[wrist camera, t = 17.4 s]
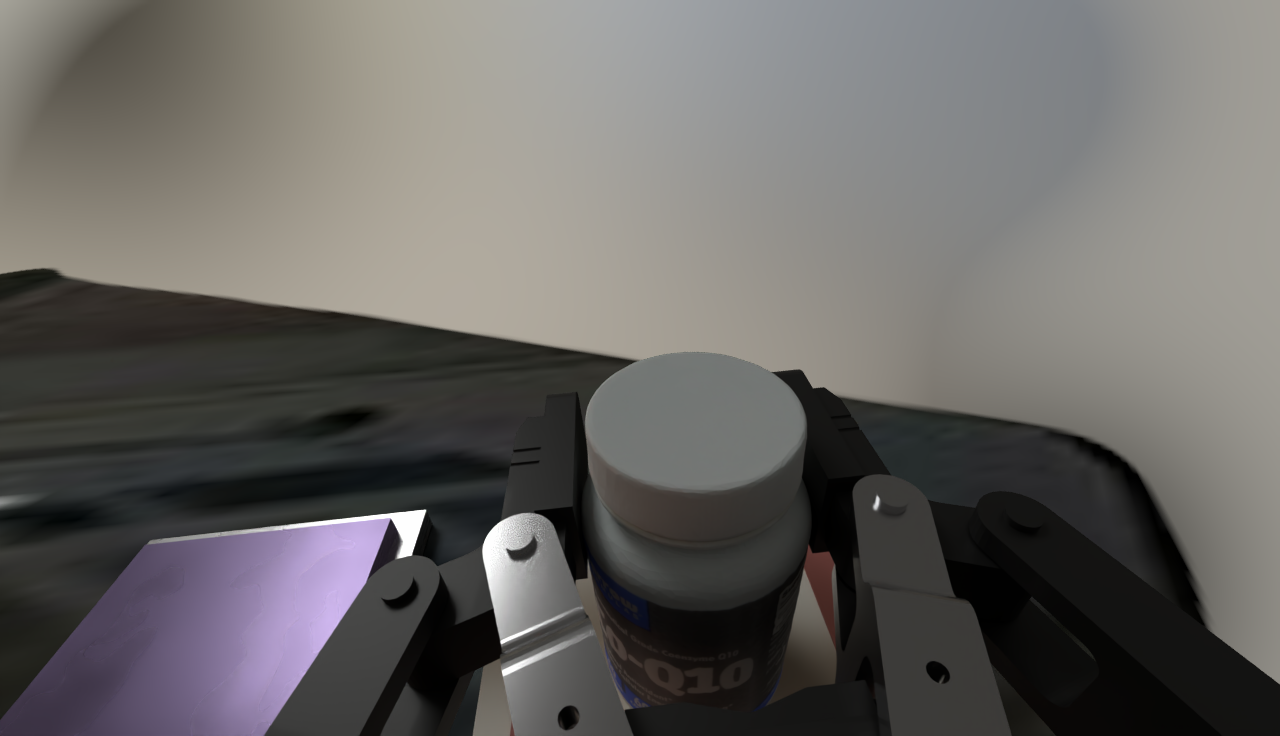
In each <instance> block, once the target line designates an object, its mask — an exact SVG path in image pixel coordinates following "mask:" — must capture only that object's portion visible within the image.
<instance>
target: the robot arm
mask: <svg viewBox="0 0 1280 736" xmlns="http://www.w3.org/2000/svg"><path fill="white" fill-rule="evenodd" d="M771 373H773V374H775V375H776V376H777V377H779V378H780V379H781V380H783V381H784V382H785V383H786V384H787V385H788V386H789V387H790V388H791V389H792V390H793V392H794V393H795V394H796V396H797V397H798V399H799V400H800V402H801V404H802V407H803V409H804V412H805V415H806V419H807V440H806V447H805V453H804V462H803V472H802V479H803V481H804V483H805V486H806V488H807V491H808V495H809V499H810V504H811V512H812V530H811V536H810V540H809V546H810V549H811V551H812V553H822V552H829V553H830V555H831V557H832V559H833V562H834V567H833V571H832V591H833V607H834V623H835V640H836V657H837V664H836V677H835V684H829V685H820V686H812V687H806V688H804V689H802V690H800V691H797V692H795V693H793V694H791V695H789V696H787V697H784V698H782V699H780V700H778V701H776V702H774V703H771V704H769V705H767V706H765V707H763V708H761V709H758V710H756V711H753V712H739V711H733V710H727V709H721V708H715V707H710V706H704V705H698V704H692V703H686V702H682V703H674V704H666V705H658V706H650V707H642V708H634V709H625V712H624V709H623V706H622V703H621V701H620V698H619V695H618V693H617V690H616V687H615V685H614V682H613V679H612V676H611V674H610V671H609V668H608V666H607V663H606V660H605V657H604V655H603V652H602V649H601V647H600V644H599V641H598V638H597V636H596V633H595V630H594V628H593V625H592V623H591V620H590V618H589V616H588V615H586V613H585V610H584V608H583V605H582V602H581V599H580V597H579V594H578V591H577V588H576V580H579V579H588V557H587V552H586V547H585V543H584V538H583V532H582V522H581V499H582V493H583V489H584V485H585V482H586V480H587V477H588V457H587V445H586V438H585V432H584V426H583V420H582V414H581V408H580V403H579V397H578V393H577V392H571V393H561V394H551V395H547V397H546V406H545V415H544V416H540V417H530V418H527V419H526V420H525V422H524V423H523V424H522V426H521V427H520V428H519V430H518V431H517V433H516V437H515V442H514V448H513V454H512V460H511V467H510V471H509V477H508V483H507V489H506V495H505V500H504V506H503V512H502V518H501V521H500V523H499V524H497V525H496V526H495V527H494V528H493V529H492V530H491V531H490V533H489V534H488V535H487V537H486V539H485V542H484V545H482V546H481V547H480V548H478V549H477V550H475V551H473V552H471V553H469V554H467V555H465V556H462V557H460V558H457V559H455V560H452V561H450V562H447V563H445V564H442V565H440V566H436V564H435V563H434V562H433V561H432V560H430V559H429V558H426V557H423V556H415V555H413V556H406V557H402V558H399V559H396V560H393V561H391V562H390V563H388V564H386V565H384V566H383V567H381V568H380V569H379V570H378V571H376V572H375V573H374V574H373V575H372V576H371V577H370V578H369V579H368V581H367V582H366V583H365V585H364V586H363V588H362V589H361V591H360V592H359V594H358V595H357V597H356V598H355V600H354V601H353V603H352V604H351V606H350V607H349V609H348V610H347V612H346V613H345V615H344V616H343V618H342V619H341V621H340V622H339V624H338V625H337V627H336V628H335V630H334V631H333V633H332V634H331V636H330V637H329V639H328V640H327V642H326V643H325V645H324V646H323V648H322V649H321V651H320V652H319V654H318V655H317V657H316V658H315V660H314V661H313V663H312V664H311V666H310V667H309V669H308V670H307V672H306V673H305V675H304V676H303V677H302V679H301V680H300V682H299V683H298V685H297V686H296V688H295V689H294V691H293V692H292V694H291V695H290V697H289V698H288V700H287V701H286V703H285V704H284V706H283V707H282V709H281V710H280V712H279V713H278V715H277V716H276V718H275V719H274V721H273V722H272V724H271V725H270V727H269V728H268V730H267V731H266V733H265V734H264V736H448V733H449V731H450V728H451V726H452V724H453V721H454V719H455V716H456V714H457V712H458V709H459V707H460V704H461V702H462V700H463V697H464V695H465V692H466V690H467V688H468V685H469V683H470V680H471V678H472V676H473V673H474V671H475V670H477V669H479V668H481V667H483V666H485V665H487V664H489V663H492V662H494V661H496V660H498V659H500V662H501V669H502V674H503V679H504V684H505V689H506V694H507V699H508V704H509V709H510V714H511V719H512V724H513V729H514V734H515V736H1012V735H1011V732H1010V728H1009V725H1008V721H1007V718H1006V715H1005V711H1004V708H1003V704H1002V701H1001V698H1000V694H999V691H998V687H997V684H996V681H995V677H994V674H993V670H992V667H991V664H992V665H993V666H994V667H995V668H996V669H997V670H998V671H999V673H1000V674H1001V675H1002V676H1003V677H1004V678H1005V679H1006V680H1007V681H1008V683H1009V684H1010V685H1011V686H1012V687H1013V688H1014V689H1015V690H1016V691H1017V693H1018V694H1019V695H1020V696H1021V697H1022V698H1023V699H1024V700H1025V701H1026V702H1027V704H1028V705H1029V706H1030V707H1031V708H1032V709H1033V710H1034V711H1035V712H1036V714H1037V715H1038V716H1039V717H1040V718H1041V719H1042V720H1043V721H1044V722H1045V724H1046V725H1047V726H1048V727H1049V728H1050V729H1051V730H1052V731H1053V732H1054V734H1055V735H1056V736H1280V684H1278V683H1277V682H1276V681H1274V680H1273V679H1272V678H1271V677H1269V676H1268V675H1267V674H1265V673H1264V672H1263V671H1261V670H1260V669H1259V668H1257V667H1256V666H1255V665H1254V664H1252V663H1251V662H1250V661H1248V660H1247V659H1246V658H1244V657H1243V656H1242V655H1240V654H1239V653H1238V652H1236V651H1235V650H1234V649H1232V648H1231V647H1230V646H1228V645H1227V644H1226V643H1225V642H1223V641H1222V640H1221V639H1219V638H1218V637H1217V636H1215V635H1214V634H1213V633H1211V632H1210V631H1209V630H1208V629H1206V628H1205V627H1204V626H1202V625H1201V624H1200V623H1198V622H1197V621H1196V620H1194V619H1193V618H1192V617H1190V616H1189V615H1188V614H1187V613H1185V612H1184V611H1183V610H1181V609H1180V608H1179V607H1177V606H1176V605H1175V604H1173V603H1172V602H1171V601H1169V600H1168V599H1167V598H1165V597H1164V596H1163V595H1162V594H1160V593H1159V592H1158V591H1156V590H1155V589H1154V588H1152V587H1151V586H1150V585H1148V584H1147V583H1146V582H1144V581H1143V580H1142V579H1141V578H1139V577H1138V576H1137V575H1135V574H1134V573H1133V572H1131V571H1130V570H1129V569H1127V568H1126V567H1125V566H1123V565H1122V564H1121V563H1120V562H1118V561H1117V560H1116V559H1114V558H1113V557H1112V556H1110V555H1109V554H1108V553H1106V552H1105V551H1104V550H1102V549H1101V548H1100V547H1098V546H1097V545H1096V544H1095V543H1093V542H1092V541H1091V540H1089V539H1088V538H1087V537H1085V536H1084V535H1083V534H1081V533H1080V532H1079V531H1077V530H1076V529H1075V528H1074V527H1072V526H1071V525H1070V524H1068V523H1067V522H1066V521H1064V520H1063V519H1062V518H1060V517H1059V516H1058V515H1056V514H1055V513H1054V512H1052V511H1051V510H1050V509H1049V508H1047V507H1046V506H1044V505H1043V504H1041V503H1039V502H1037V501H1036V500H1033V499H1031V498H1029V497H1026V496H1024V495H1021V494H1017V493H1012V492H1002V491H998V492H992V493H988V494H986V495H984V496H983V497H982V498H981V499H980V500H979V502H978V504H977V506H976V508H971V507H965V506H958V505H951V504H945V503H939V502H934V501H930V500H927V499H926V497H925V496H924V494H923V493H922V492H921V491H920V490H919V489H918V488H916V487H915V486H914V485H912V484H911V483H909V482H907V481H905V480H903V479H900V478H897V477H894V476H891V474H890V473H889V471H888V470H887V468H886V467H885V465H884V464H883V462H882V461H881V459H880V458H879V456H878V455H877V453H876V452H875V450H874V449H873V447H872V446H871V444H870V443H869V441H868V440H867V438H866V436H865V435H864V433H863V432H862V430H859V426H858V424H857V423H856V421H855V420H854V418H851V414H850V412H849V411H848V409H847V408H846V406H845V405H844V403H843V402H842V400H841V399H840V398H838V397H837V396H835V395H834V394H833V393H831V392H830V391H828V390H827V389H826V388H824V387H823V388H812V386H811V384H810V383H809V381H808V379H807V378H806V376H805V375H804V373H803V371H801V370H789V371H781V372H780V371H779V372H771ZM1031 596H1032V597H1033V598H1034V599H1035V600H1037V601H1038V602H1039V603H1040V604H1041V605H1042V606H1043V607H1044V608H1045V609H1046V610H1047V611H1048V612H1050V613H1051V614H1052V615H1053V616H1054V617H1055V618H1056V619H1057V620H1058V621H1059V622H1060V623H1061V624H1062V625H1064V626H1065V627H1066V628H1067V629H1068V630H1069V631H1070V632H1071V633H1072V634H1073V635H1074V636H1075V637H1077V638H1078V639H1079V640H1080V641H1081V642H1082V643H1083V644H1084V645H1085V646H1086V647H1087V648H1088V649H1089V651H1090V652H1091V653H1092V655H1093V656H1094V658H1095V660H1096V662H1097V663H1096V662H1095V661H1094V660H1093V659H1092V658H1091V657H1090V656H1089V655H1088V654H1087V653H1086V652H1085V651H1084V650H1083V649H1081V648H1080V647H1079V646H1078V645H1077V644H1076V643H1075V642H1074V641H1073V640H1072V639H1071V638H1070V637H1069V636H1068V635H1066V634H1065V633H1064V632H1063V631H1062V630H1061V629H1060V628H1059V627H1058V626H1057V625H1056V624H1055V623H1054V622H1053V621H1052V620H1050V619H1049V618H1048V617H1047V616H1046V615H1045V614H1044V613H1043V612H1042V611H1041V610H1040V609H1039V608H1038V607H1037V606H1035V605H1034V604H1033V603H1032V602H1031V601H1030V600H1029V599H1030V598H1031Z"/></svg>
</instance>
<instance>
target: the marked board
mask: <svg viewBox="0 0 1280 736" xmlns="http://www.w3.org/2000/svg"><path fill="white" fill-rule="evenodd" d="M833 567H834V562H833V559H832V557H831V555H830V553H829V552H822V553H812V551H811V549H810V546H809V545H808V551H807V556H806V561H805V565H804V570H803V575H802V580H801V585H800V591H799V595H798V599H797V604H796V609H795V613H794V617H793V622H792V628H791V632H790V636H789V640H788V645H787V649H786V654H785V659H784V663H783V669H782V673H781V677H780V680H779V684H778V687H777V689H776V691H775V693H774V695H773V697H772V700H771V701H770V703H769V704H771V703H774V702H776V701H778V700H780V699H782V698H784V697H787V696H789V695H791V694H793V693H795V692H797V691H800V690H802V689H804V688H806V687H812V686H820V685H829V684H835V677H836V664H837V657H836V640H835V623H834V607H833V591H832V571H833ZM576 588H577V591H578V594H579V597H580V599H581V602H582V605H583V608H584V610H585V613H586V615H588V616H589V618H590V620H591V623H592V625H593V628H594V630H595V633H596V636H597V638H598V641H599V644H600V647H601V649H602V652H603V655H604V657H605V660H606V663H607V666H608V668H609V665H608V661H607V656H606V652H605V646H604V639H603V634H602V630H601V626H600V618H599V613H598V609H597V604H596V600H595V593H594V587H593V582H592V576H591V572H590V567H589V562H588V579H579V580H576ZM609 671H610V669H609ZM610 674H611V672H610ZM611 676H612V675H611ZM612 679H613V678H612ZM613 682H614V680H613ZM614 685H615V682H614ZM615 687H616V685H615ZM616 690H617V693H618V695H619V698H620V701H621V703H622V706H623V709H624V712H625V709H631V708H630V707H629V706H628V705H627V703H626V702H625V701H624V699H623V698H622V696H621V694H620V693H619V691H618V689H617V687H616ZM769 704H768V705H769ZM473 736H515V734H514V729H513V724H512V719H511V714H510V709H509V704H508V699H507V694H506V689H505V684H504V679H503V674H502V669H501V662H500V659H498V660H496V661H494V662H492V663H489V664H487V665H485V666H484V667H483V674H482V680H481V687H480V693H479V699H478V706H477V712H476V718H475V725H474V731H473Z"/></svg>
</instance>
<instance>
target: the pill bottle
mask: <svg viewBox="0 0 1280 736" xmlns="http://www.w3.org/2000/svg"><path fill="white" fill-rule="evenodd" d="M585 429H586V440H587V448H588V464H589V471H590V472H589V474H588V477H587V480H586V482H585V485H584V489H583V493H582V499H581V522H582V532H583V538H584V543H585V547H586V552H587V557H588V562H589V567H590V572H591V576H592V582H593V587H594V593H595V600H596V604H597V609H598V613H599V618H600V626H601V630H602V634H603V639H604V646H605V652H606V656H607V661H608V665H609V669H610V672H611V675H612V678H613V680H614V682H615V685H616V687H617V689H618V691H619V693H620V694H621V696H622V698H623V699H624V701H625V702H626V703H627V705H628V706H629V707H630V708H631V709H634V708H642V707H650V706H658V705H666V704H674V703H682V702H686V703H692V704H698V705H704V706H710V707H715V708H721V709H727V710H733V711H739V712H753V711H756V710H758V709H761V708H763V707H765V706H767V705H768V704H769V703H770V701H771V700H772V697H773V695H774V693H775V691H776V689H777V687H778V684H779V680H780V677H781V673H782V669H783V663H784V659H785V654H786V649H787V645H788V640H789V636H790V632H791V628H792V622H793V617H794V613H795V609H796V604H797V599H798V595H799V591H800V585H801V580H802V575H803V570H804V565H805V561H806V556H807V551H808V545H809V540H810V536H811V530H812V512H811V504H810V499H809V495H808V491H807V488H806V486H805V483H804V481H803V479H802V472H803V462H804V453H805V447H806V440H807V419H806V415H805V412H804V409H803V407H802V404H801V402H800V400H799V399H798V397H797V396H796V394H795V393H794V392H793V390H792V389H791V388H790V387H789V386H788V385H787V384H786V383H785V382H784V381H783V380H781V379H780V378H779V377H777V376H776V375H775V374H773V373H771V372H770V371H768V370H766V369H764V368H762V367H760V366H758V365H755V364H753V363H750V362H747V361H744V360H741V359H738V358H735V357H731V356H727V355H722V354H715V353H705V352H682V353H671V354H664V355H659V356H655V357H651V358H647V359H644V360H641V361H638V362H635V363H633V364H631V365H629V366H627V367H626V368H623V369H622V370H620V371H618V372H616V373H615V374H613V375H612V376H611V377H609V378H608V379H607V380H606V381H605V382H604V383H603V384H602V385H601V386H600V387H599V388H598V389H597V391H596V392H595V393H594V395H593V397H592V398H591V401H590V403H589V405H588V408H587V412H586V419H585Z"/></svg>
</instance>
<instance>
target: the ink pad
mask: <svg viewBox="0 0 1280 736" xmlns="http://www.w3.org/2000/svg"><path fill="white" fill-rule="evenodd" d="M431 527H432V521H431V519H430V517H429V515H428V513H427V511H426V510H420V511H410V512H401V513H392V514H383V515H374V516H365V517H356V518H347V519H338V520H329V521H320V522H311V523H302V524H293V525H284V526H275V527H266V528H257V529H248V530H239V531H230V532H221V533H212V534H203V535H193V536H184V537H175V538H166V539H157V540H150V541H149V543H148V544H147V545H145V546H144V547H143V548H142V549H141V551H140V552H139V553H138V554H137V556H136V557H135V558H134V559H133V560H132V562H131V563H130V564H129V565H128V566H127V568H126V569H125V570H124V571H123V572H122V574H121V575H120V576H119V577H118V579H117V580H116V581H115V582H114V583H113V585H112V586H111V587H110V588H109V589H108V591H107V592H106V593H105V594H104V595H103V597H102V598H101V599H100V600H99V602H98V603H97V604H96V605H95V606H94V608H93V609H92V610H91V611H90V612H89V614H88V615H87V616H86V617H85V618H84V620H83V621H82V622H81V623H80V624H79V626H78V627H77V628H76V629H75V631H74V632H73V633H72V634H71V635H70V637H69V638H68V639H67V640H66V641H65V643H64V644H63V645H62V646H61V647H60V649H59V650H58V651H57V652H56V654H55V655H54V656H53V657H52V658H51V660H50V661H49V662H48V663H47V664H46V666H45V667H44V668H43V669H42V670H41V672H40V673H39V674H38V675H37V677H36V678H35V679H34V680H33V681H32V683H31V684H30V685H29V686H28V687H27V689H26V690H25V691H24V692H23V693H22V695H21V696H20V697H19V698H18V700H17V701H16V702H15V703H14V704H13V706H12V707H11V708H10V709H9V710H8V712H7V713H6V714H5V715H4V716H3V718H2V719H1V720H0V736H264V734H265V733H266V731H267V730H268V728H269V727H270V725H271V724H272V722H273V721H274V719H275V718H276V716H277V715H278V713H279V712H280V710H281V709H282V707H283V706H284V704H285V703H286V701H287V700H288V698H289V697H290V695H291V694H292V692H293V691H294V689H295V688H296V686H297V685H298V683H299V682H300V680H301V679H302V677H303V676H304V675H305V673H306V672H307V670H308V669H309V667H310V666H311V664H312V663H313V661H314V660H315V658H316V657H317V655H318V654H319V652H320V651H321V649H322V648H323V646H324V645H325V643H326V642H327V640H328V639H329V637H330V636H331V634H332V633H333V631H334V630H335V628H336V627H337V625H338V624H339V622H340V621H341V619H342V618H343V616H344V615H345V613H346V612H347V610H348V609H349V607H350V606H351V604H352V603H353V601H354V600H355V598H356V597H357V595H358V594H359V592H360V591H361V589H362V588H363V586H364V585H365V583H366V582H367V581H368V579H369V578H370V577H371V576H372V575H373V574H374V573H375V572H376V571H378V570H379V569H380V568H381V567H383V566H384V565H386V564H388V563H390V562H391V561H393V560H396V559H399V558H402V557H406V556H413V555H415V556H423V553H424V550H425V547H426V543H427V540H428V537H429V533H430V530H431Z"/></svg>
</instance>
